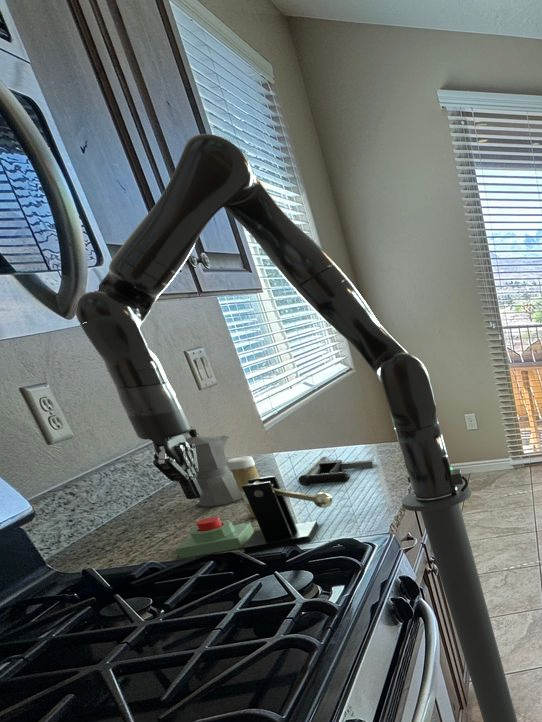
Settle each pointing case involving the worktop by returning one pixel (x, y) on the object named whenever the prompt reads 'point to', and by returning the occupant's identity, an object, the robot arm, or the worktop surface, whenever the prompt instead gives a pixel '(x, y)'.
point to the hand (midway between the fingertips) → (195, 497)
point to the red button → (209, 524)
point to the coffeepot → (213, 470)
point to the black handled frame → (330, 471)
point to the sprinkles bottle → (243, 474)
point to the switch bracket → (273, 518)
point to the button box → (215, 539)
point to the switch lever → (306, 497)
